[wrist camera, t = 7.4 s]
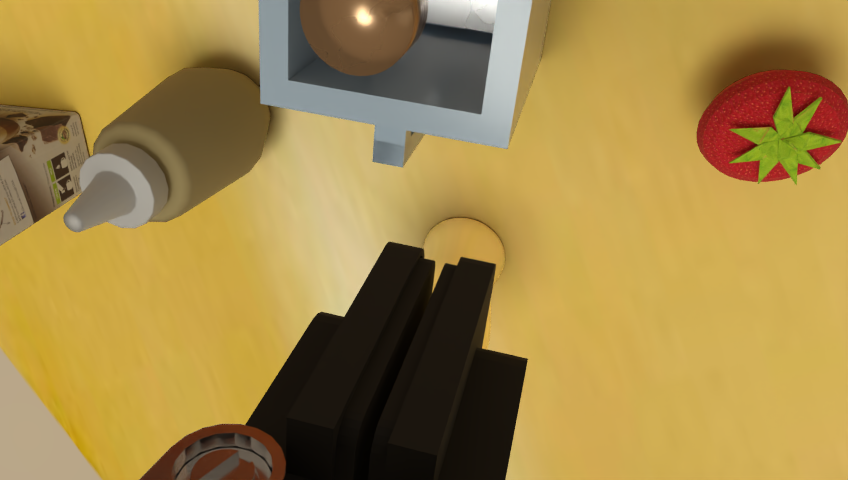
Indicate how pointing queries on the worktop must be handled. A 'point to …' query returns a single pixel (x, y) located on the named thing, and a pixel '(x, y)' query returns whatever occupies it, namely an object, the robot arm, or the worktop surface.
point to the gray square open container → (412, 79)
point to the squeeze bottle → (172, 150)
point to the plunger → (382, 28)
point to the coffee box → (37, 164)
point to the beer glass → (464, 250)
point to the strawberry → (773, 125)
